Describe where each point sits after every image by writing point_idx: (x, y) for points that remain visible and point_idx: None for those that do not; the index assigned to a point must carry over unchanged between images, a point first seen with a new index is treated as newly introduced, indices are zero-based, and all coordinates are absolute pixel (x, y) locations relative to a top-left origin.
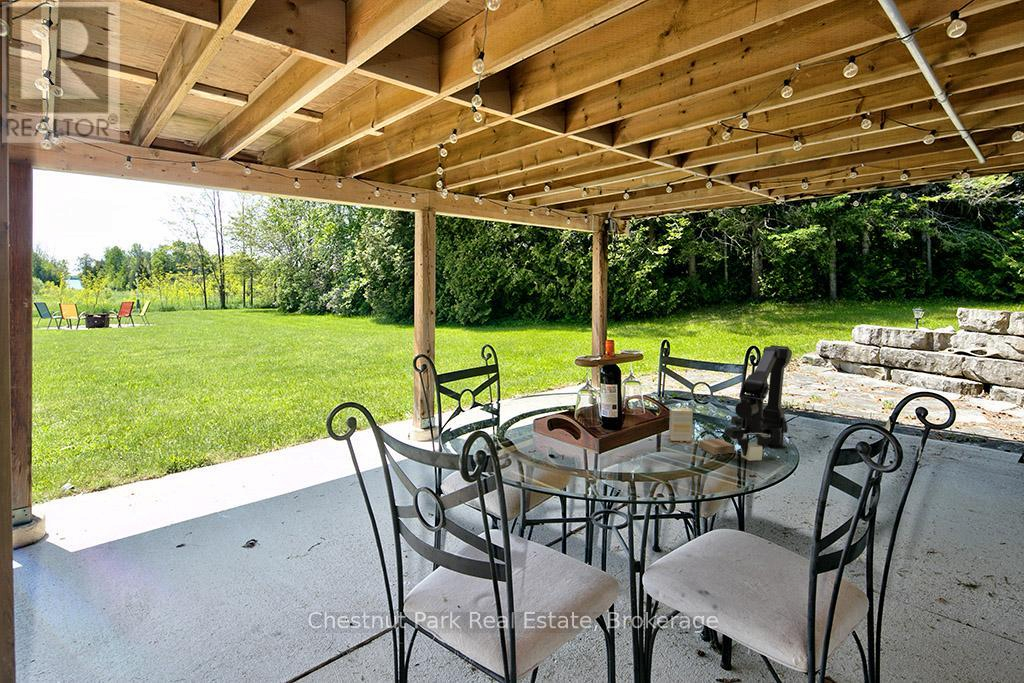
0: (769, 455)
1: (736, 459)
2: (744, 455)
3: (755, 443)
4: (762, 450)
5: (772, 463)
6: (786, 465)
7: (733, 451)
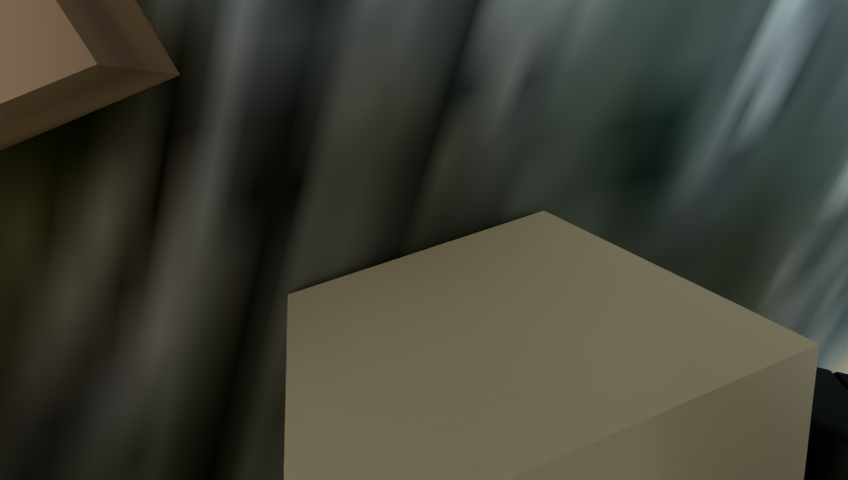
0: (801, 102)
1: (162, 456)
2: None
3: (782, 450)
4: None
5: None
6: None
7: (132, 88)
